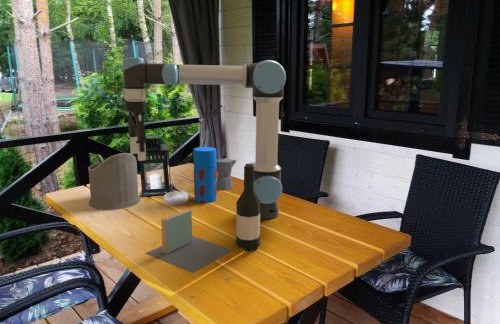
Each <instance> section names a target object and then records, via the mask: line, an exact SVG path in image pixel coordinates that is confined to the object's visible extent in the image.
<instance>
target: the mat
mask: <svg viewBox="0 0 500 324" xmlns="http://www.w3.org/2000/svg"><path fill="white" fill-rule="evenodd" d="M233 251H234V249H232V248H229V247H226V246H223V245H221V244H218V243H214V242H212V241H209V240H205V239H202V238H200V237H197V236H194V235H192V242H191V243H189V244H186V245H184V246H182V247H180V248H178V249H176V250H174V251H172V252H170V253H168V254H166V253H163V251H162V245H160V246H159V247H156V248H154V249H151V250H150V251H148V252H145V253H144V254H146V255H148V256H151V257H153V258H155V259H157V260H160V261H161V262H162V261H163V262H165V263H167V264H169V265H173V266H174V267H178V268H180V269H182V270H184V271H186V272H189V273H192V274H195V273H197V271H199V270H201V269H204V268H205V267H207V266H208V265H210V264H212V263H214V262H216V261H217V260H220V259H221V258H222V257H224V256H226V255H228V254H230V253H231V252H233Z"/></svg>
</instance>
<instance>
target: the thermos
mask: <svg viewBox="0 0 500 324" xmlns="http://www.w3.org/2000/svg"><path fill="white" fill-rule="evenodd" d="M217 159H218V158H217V148H215V147H212V146H211V147H210V146H201V147H200V146H199V147H195V148H193V188H194V189H193V190H194V191H193V194H194V202H196V203H199V204H211V203H215V202H216V201H217V196H218V195H217V193H218V191H217V190H218V189H217V177H218V173H217V166H216V165H217Z"/></svg>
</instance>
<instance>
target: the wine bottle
mask: <svg viewBox="0 0 500 324" xmlns="http://www.w3.org/2000/svg"><path fill="white" fill-rule="evenodd" d="M260 203H261V202H260V200H259V198H258V197H257V195H256V193H255V192H254V166H253V164H250V163H245V165H244V166H243V191H242V192H241V194H240V196H239V197H238V199H237V200H236V221H235V222H236V224H235V225H236V227H235V229H236V231H235V232H236V233H235V235H236V236H235V239H236V240H235V242H236V243H235V244H236V246H237V247H238V248H239V249H243V250H244V252H253V251H257V250H258V249H259V248H260V244H261V243H260V241H261V239H260V237H261V219H260Z"/></svg>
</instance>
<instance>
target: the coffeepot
mask: <svg viewBox="0 0 500 324" xmlns="http://www.w3.org/2000/svg"><path fill="white" fill-rule="evenodd" d="M222 157H223V158H217V165H216V166H217V190H219V191H220V190H221V191H228V190H232V188H233V187H234V186H233V179H232V175H231V174H232V169H233V166H235V164H236V163H237V160H236V159H231V158H227V157H226V154H223V155H222Z"/></svg>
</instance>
